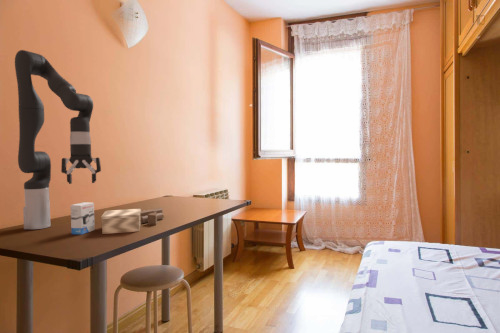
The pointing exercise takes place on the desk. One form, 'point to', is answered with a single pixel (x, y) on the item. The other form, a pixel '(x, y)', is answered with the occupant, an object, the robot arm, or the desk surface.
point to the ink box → (82, 218)
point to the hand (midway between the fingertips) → (82, 183)
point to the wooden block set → (151, 216)
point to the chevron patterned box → (121, 221)
